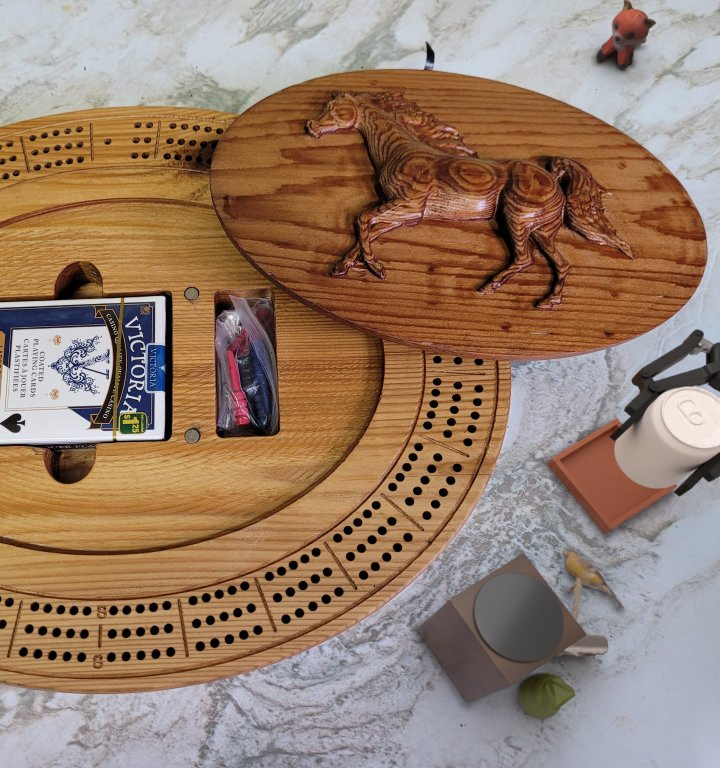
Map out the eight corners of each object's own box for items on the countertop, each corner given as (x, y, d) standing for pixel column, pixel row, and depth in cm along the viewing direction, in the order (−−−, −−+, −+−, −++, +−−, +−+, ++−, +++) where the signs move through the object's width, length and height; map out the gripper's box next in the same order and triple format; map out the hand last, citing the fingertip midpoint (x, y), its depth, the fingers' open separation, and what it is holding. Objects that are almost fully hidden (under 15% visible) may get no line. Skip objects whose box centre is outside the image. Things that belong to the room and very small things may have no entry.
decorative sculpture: (560, 549, 118) (578, 535, 111) (628, 579, 116) (651, 566, 109) (527, 655, 112) (544, 646, 105) (598, 688, 109) (621, 681, 103)
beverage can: (638, 500, 95) (687, 463, 84) (598, 440, 99) (641, 397, 88) (697, 475, 96) (754, 436, 86) (656, 417, 100) (706, 372, 89)
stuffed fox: (654, 52, 160) (684, -2, 149) (619, 81, 157) (647, 29, 146) (622, 32, 162) (649, -22, 152) (586, 61, 159) (611, 8, 149)
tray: (670, 491, 121) (678, 486, 119) (604, 534, 118) (610, 529, 116) (610, 423, 126) (617, 417, 124) (546, 463, 123) (551, 458, 121)
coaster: (580, 633, 93) (582, 632, 93) (511, 679, 92) (512, 679, 91) (523, 558, 97) (524, 556, 97) (455, 601, 95) (456, 600, 95)
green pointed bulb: (535, 669, 111) (561, 658, 102) (563, 704, 109) (592, 696, 100) (503, 692, 110) (527, 684, 101) (531, 729, 107) (557, 723, 98)
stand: (531, 659, 111) (587, 634, 93) (466, 703, 109) (510, 686, 91) (480, 589, 116) (523, 552, 98) (416, 629, 114) (449, 599, 96)
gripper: (832, 417, 95) (713, 542, 89) (681, 302, 103) (561, 410, 97) (877, 389, 89) (751, 522, 83) (712, 268, 96) (585, 382, 90)
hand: (649, 461), depth 90 cm, fingers closed on beverage can, 8 cm apart
